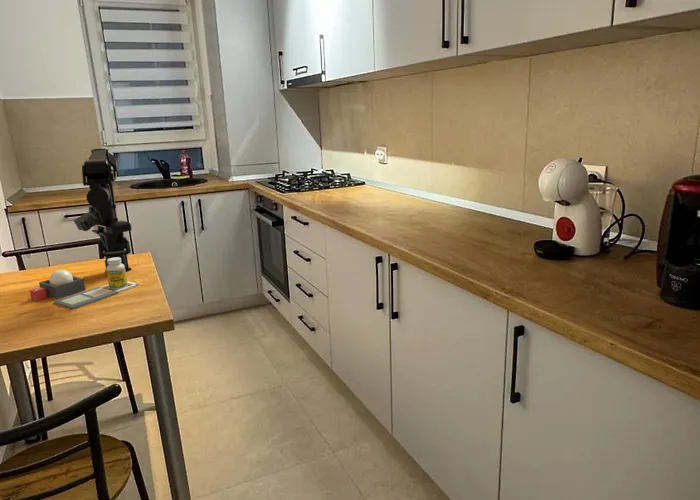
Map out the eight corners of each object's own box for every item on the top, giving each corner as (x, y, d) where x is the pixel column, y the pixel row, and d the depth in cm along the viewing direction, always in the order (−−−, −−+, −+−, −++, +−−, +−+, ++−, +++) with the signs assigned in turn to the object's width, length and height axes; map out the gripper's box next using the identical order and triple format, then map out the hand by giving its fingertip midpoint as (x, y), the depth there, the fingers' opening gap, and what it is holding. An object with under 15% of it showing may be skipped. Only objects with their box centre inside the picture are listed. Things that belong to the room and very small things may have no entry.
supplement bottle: (127, 283, 167) (123, 255, 164) (128, 288, 162) (124, 259, 159) (109, 286, 164) (104, 258, 162) (109, 291, 160) (105, 262, 157)
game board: (120, 281, 169) (120, 279, 169) (140, 286, 164) (139, 283, 164) (53, 303, 151) (53, 300, 151) (73, 309, 146) (72, 306, 146)
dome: (67, 284, 165) (64, 265, 163) (80, 288, 161) (76, 268, 159) (45, 291, 159) (41, 271, 157) (58, 294, 155) (54, 274, 154)
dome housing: (69, 285, 166) (67, 274, 165) (85, 289, 162) (83, 278, 161) (27, 298, 156) (25, 286, 155) (43, 303, 151) (41, 291, 150)
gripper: (59, 204, 154) (68, 253, 158) (93, 209, 144) (101, 262, 148) (95, 198, 163) (102, 245, 167) (129, 203, 153) (136, 253, 157)
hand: (109, 251), depth 160 cm, fingers closed
